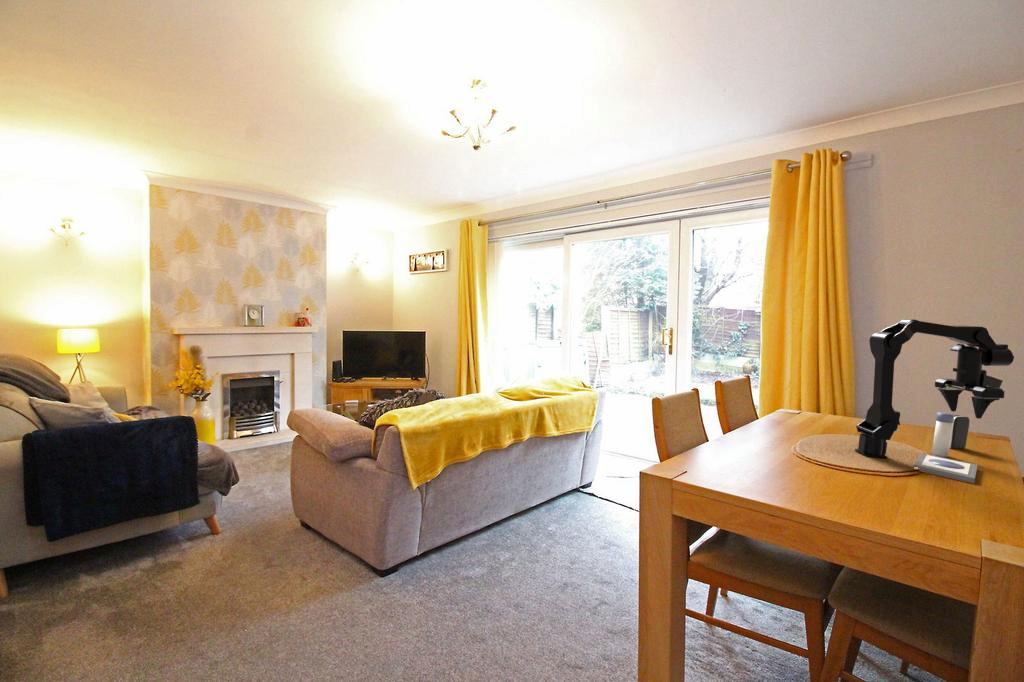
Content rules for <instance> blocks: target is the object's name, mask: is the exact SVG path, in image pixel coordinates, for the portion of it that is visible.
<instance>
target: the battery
mask: <svg viewBox="0 0 1024 682" xmlns="http://www.w3.org/2000/svg"><path fill="white" fill-rule="evenodd" d="M969 428H970V418H969V417H967V416H965V415H961V414H958V415H957V414H954V421H953V425H952V432H951V439H950V446H949V449H965V448H966V447H967V441H968V440H967V439H968V435H969Z"/></svg>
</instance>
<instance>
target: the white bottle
mask: <svg viewBox="0 0 1024 682" xmlns="http://www.w3.org/2000/svg"><path fill="white" fill-rule="evenodd" d="M954 415H955V414H953V413H950V412H944V411H943V412H941V411H937V412H936V418H935V420H936V422H935V427H934V428H935V429H934V436H933V442H932V449H931V455H933V456H938V457H942V458H948V457H949V452H950V448H949V446H950V439H951V432H952V425H953V421H954Z"/></svg>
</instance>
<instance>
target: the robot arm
mask: <svg viewBox="0 0 1024 682" xmlns="http://www.w3.org/2000/svg"><path fill="white" fill-rule="evenodd" d="M915 334H924V335H931V336H937V337H943V338H946V339H949V340H950V341H954V342H955V343H957V344H956V345H954V346H952V347H951V348H950V349H949V351H950V352H957V359H956V367H952V372H954V373H956V374H955V375H956V376H955V378H937V379H936V380H935V381H934V388H937V390H938V391H939V392H940V393H941V396H942V397H943V399H944V400H945V401H946V404H947V406H948V407H949V409H950V411H951V412H956V411H957V407H958V402H959V397H960V396H959V395H961V393H962V392H964V391H967V392H972V395H973V396H971V402H972V406H973V412H974V416H975V418H976V419H982V418H983V416H984V414H985V412H986V411H987V409H988V408H989V406H990V404H991V403H994V402H995V401H999V400H1001V399H1005V392H1006V391H1004V389H1003V388H1000V387H1001V386H1002V384H1003V382H1004V380H1002V379H999V378H997V377H993V376H989V375H987V370H986V369H983V366H985V367H1007V366H1010V365H1011V364H1012V363H1013V362H1014V359H1015V356H1014V354H1013V352H1012V350H1011V349H1009V345H1008V344H1007V343H1005V344H1004V343H996V341H995V340H994V339H993V338H992V337H991V334H990V333H989V330H988V328H986V327H985V326H978V325H976V326H975V325H974V326H973V325H948V324H941V323H935V322H927V321H922V320H918V319H911V318H910V319H908V318H905V319H902V320H900V321H898V322H897V323H895V324H892V325H890V326H888V327H885V328H884V329H882V330H880V331H876V332H875V333H873V334H872V335H871V336H870V337H869V348H870V352H871V355H872V356H873V358H874V372H873V373H874V375H873V393H872V394H873V397H872V404H871V405H870V407H869V408H868V409H867V411H866V416H865V419H863V420H861V422H859V423H857V425H856V426H855V427H856V431H857V433H859V438H858V439H859V440H858V446H857V448H854V451H855V452H857V453H859V454H861V455H863V456H865V457H867V458H868V457H870V458H879V457H884V458H883V459H888V458H887V457H888V455H886V454H887V447H888V442H887V441H890V440H891V438H892V437H893V435H894V433H895V432H896V431H897V430H898V428H899V427H898V426H901V422H900V419H901V418H900V417H901V411H897V410H895V409H894V407H893V392H894V378H895V377H894V375H895V361H896V360H897V358H898V357H899V355H900V354H901V351H902V348H903V345H904V344H905V343H907V342H908V341H910V340H911V339H912V337H913V336H914V335H915Z"/></svg>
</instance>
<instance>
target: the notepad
mask: <svg viewBox="0 0 1024 682" xmlns="http://www.w3.org/2000/svg"><path fill="white" fill-rule="evenodd" d="M914 467H918V468H920V470H919V471H918V472H921V473H925V474H931V475H934V476H939V477H943V478H947V479H953V480H956V481H961V482H964V483H965V482H966V483H968V484H969V483H970V484H972V485H973V484H975V482H976V475H977V470H978V464H976V463H971V462H965V461H962V460H961V461H960V460H956V459H953V458H948V457H940V456H936V455H933V454H926V453H922V452H921V453H920V455H919V456H918V458H917V459H916V461H915V463H914V464H913V468H914Z"/></svg>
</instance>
